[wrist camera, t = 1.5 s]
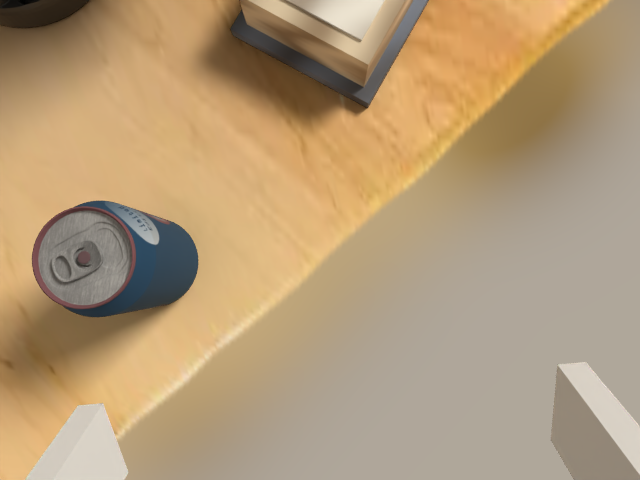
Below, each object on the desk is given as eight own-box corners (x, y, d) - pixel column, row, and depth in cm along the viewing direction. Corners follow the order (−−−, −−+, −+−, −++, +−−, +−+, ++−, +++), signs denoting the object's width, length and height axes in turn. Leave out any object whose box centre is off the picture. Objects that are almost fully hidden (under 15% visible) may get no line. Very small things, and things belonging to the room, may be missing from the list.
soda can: (181, 206, 38) (114, 174, 26) (216, 283, 37) (164, 287, 25) (104, 242, 38) (1, 227, 26) (138, 320, 37) (49, 341, 25)
